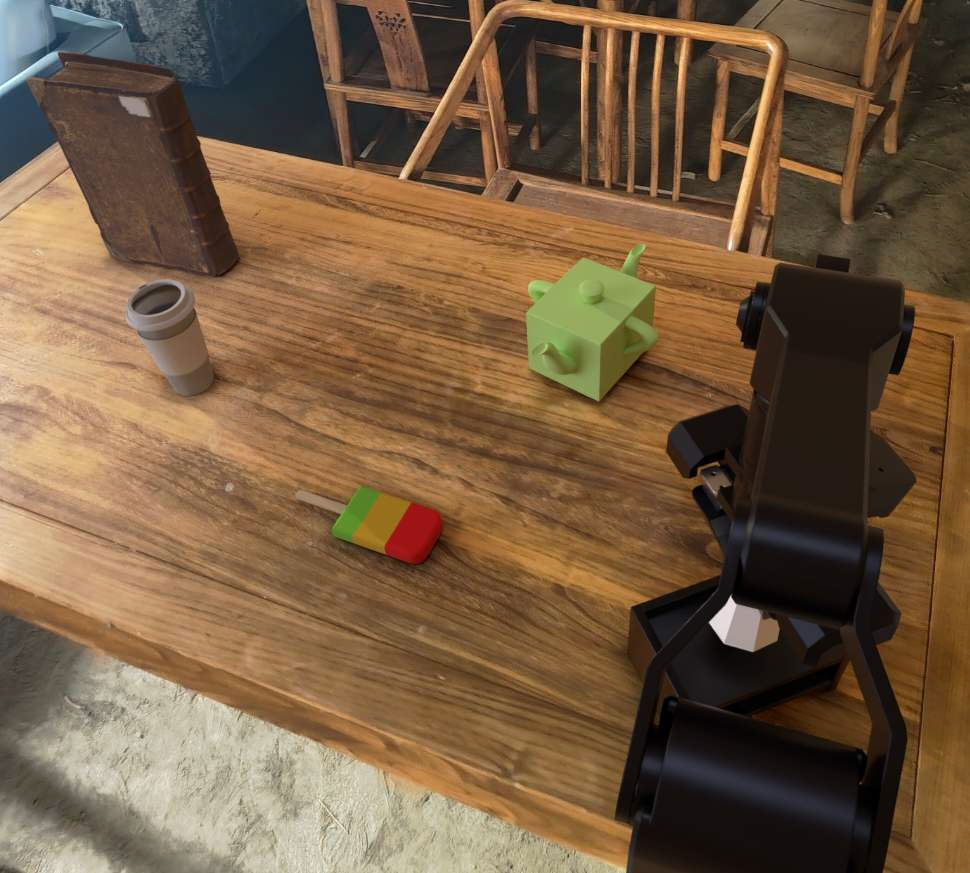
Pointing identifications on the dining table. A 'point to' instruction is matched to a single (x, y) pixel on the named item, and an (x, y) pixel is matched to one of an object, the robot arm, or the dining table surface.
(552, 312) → the teapot
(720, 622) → the salt shaker
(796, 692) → the black open box
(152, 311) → the cup
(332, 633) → the dining table surface
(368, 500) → the popsicle
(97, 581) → the dining table surface
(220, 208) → the book
